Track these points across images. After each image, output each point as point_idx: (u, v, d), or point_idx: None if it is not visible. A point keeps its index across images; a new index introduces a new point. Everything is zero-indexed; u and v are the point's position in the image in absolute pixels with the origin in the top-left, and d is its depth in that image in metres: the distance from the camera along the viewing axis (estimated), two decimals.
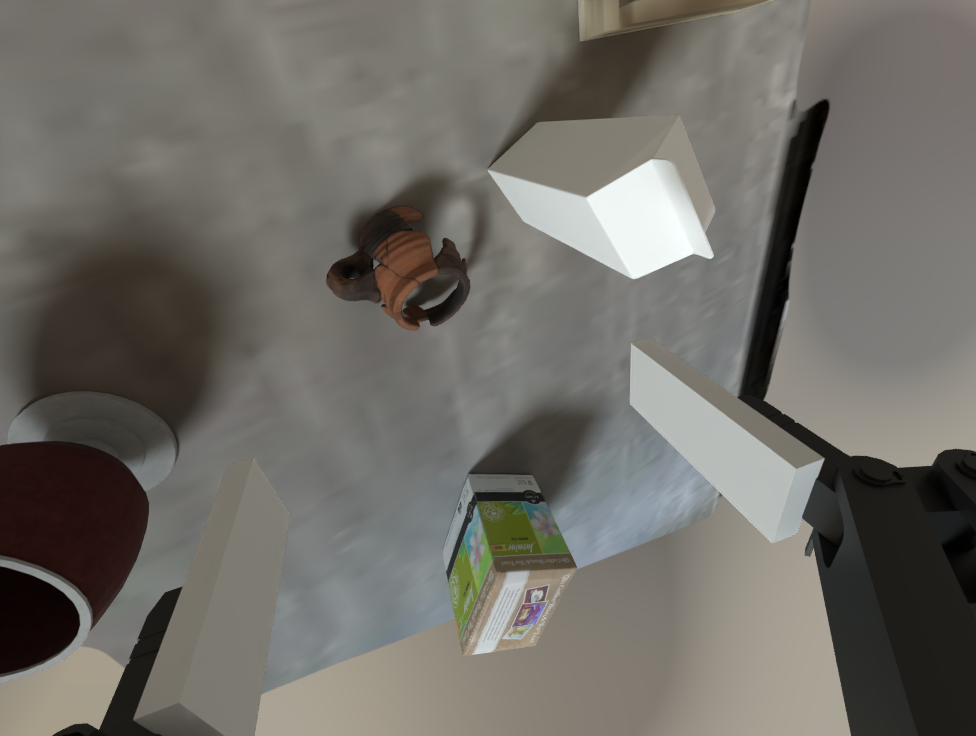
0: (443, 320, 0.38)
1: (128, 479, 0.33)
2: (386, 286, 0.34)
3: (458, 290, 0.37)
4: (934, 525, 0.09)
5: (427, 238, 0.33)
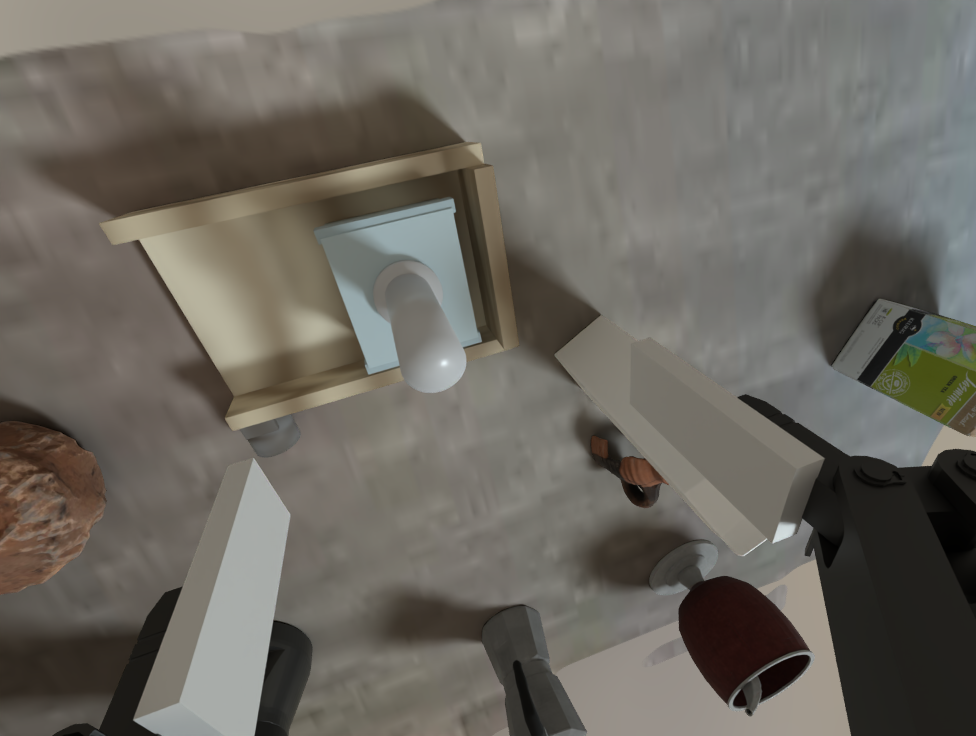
0: None
1: (721, 593, 0.57)
2: (656, 483, 0.45)
3: None
4: (934, 524, 0.09)
5: (630, 459, 0.43)
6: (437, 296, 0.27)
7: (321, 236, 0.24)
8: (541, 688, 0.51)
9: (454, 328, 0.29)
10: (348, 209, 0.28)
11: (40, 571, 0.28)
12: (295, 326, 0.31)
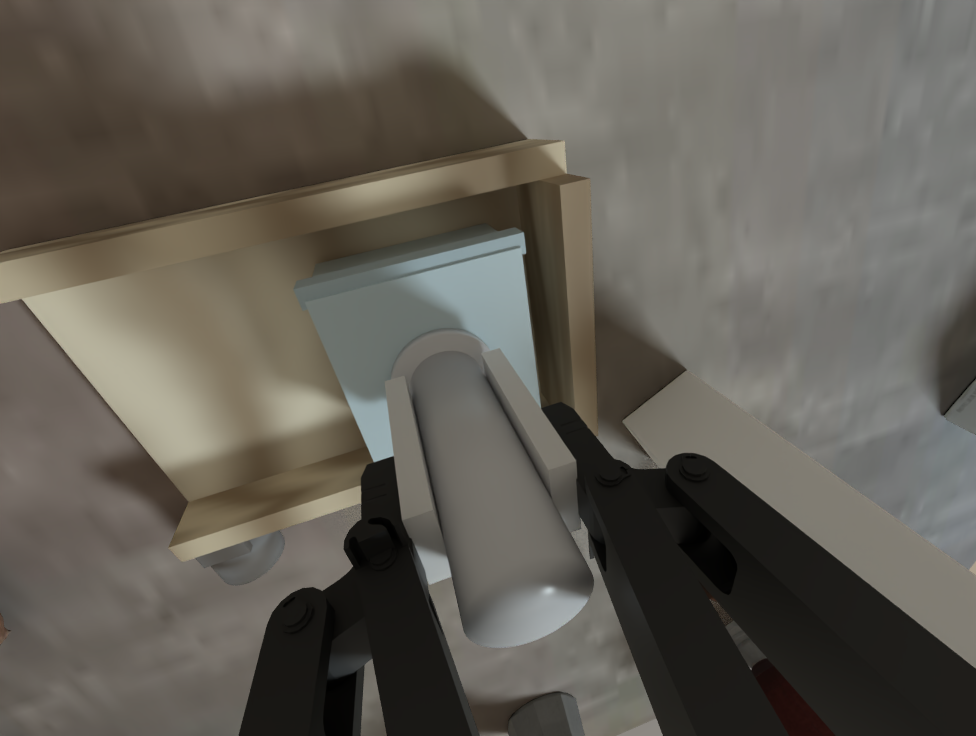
0: None
1: None
2: None
3: None
4: None
5: None
6: None
7: (306, 297, 0.14)
8: None
9: None
10: (351, 241, 0.19)
11: None
12: (274, 407, 0.21)
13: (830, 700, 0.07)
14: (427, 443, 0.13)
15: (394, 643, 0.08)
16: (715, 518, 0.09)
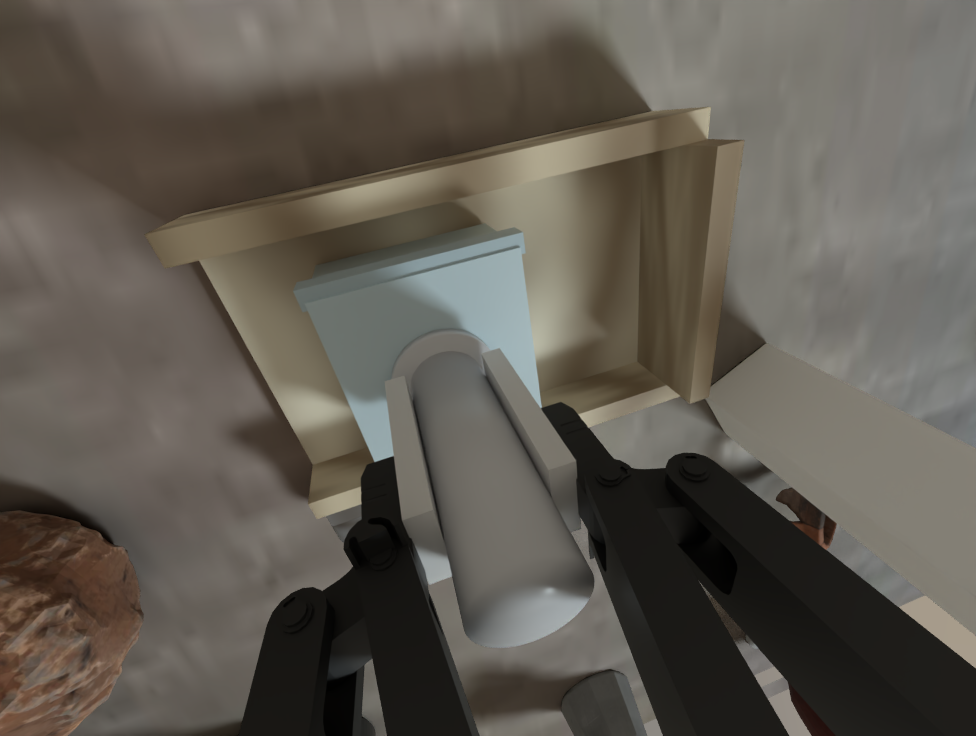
0: None
1: None
2: None
3: None
4: None
5: None
6: None
7: (306, 299, 0.14)
8: None
9: None
10: (490, 208, 0.20)
11: (55, 733, 0.19)
12: None
13: (830, 700, 0.07)
14: (427, 443, 0.13)
15: (394, 643, 0.08)
16: (715, 518, 0.09)
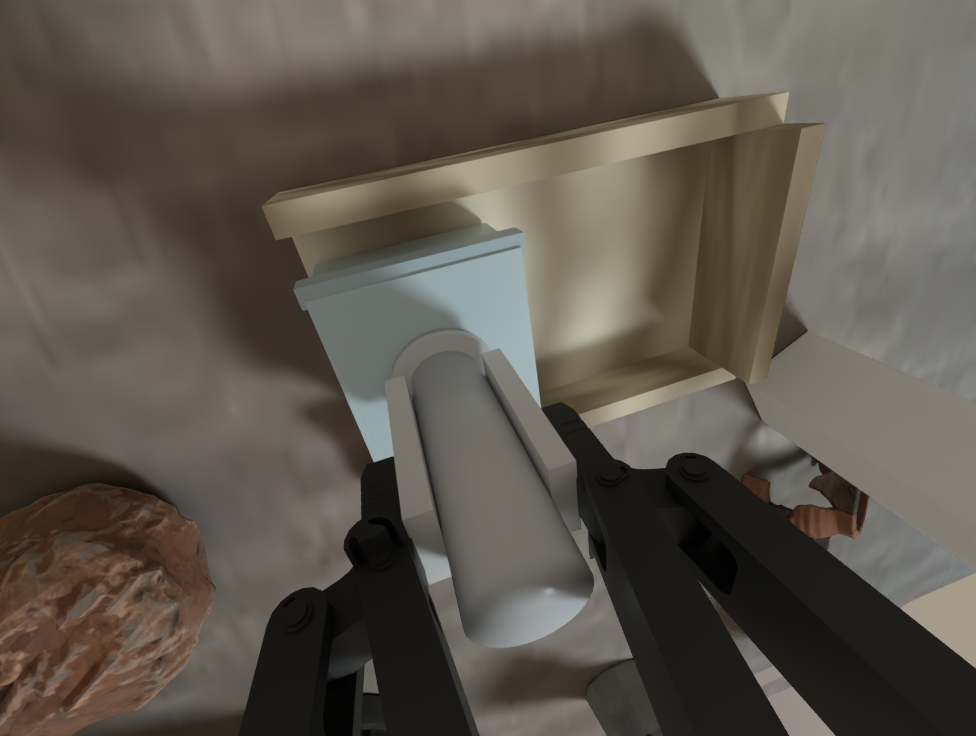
0: None
1: None
2: (833, 535, 0.36)
3: None
4: None
5: (810, 508, 0.34)
6: None
7: (306, 297, 0.14)
8: None
9: None
10: (565, 191, 0.20)
11: (139, 699, 0.20)
12: None
13: (830, 700, 0.07)
14: (427, 443, 0.13)
15: (394, 643, 0.08)
16: (715, 518, 0.09)
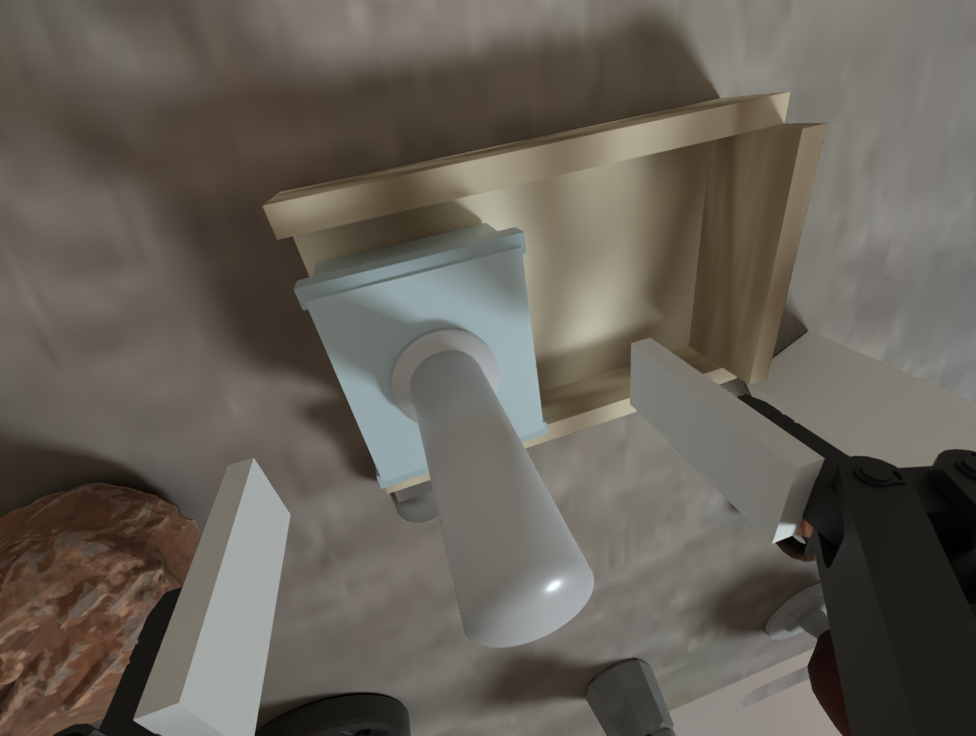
0: None
1: None
2: None
3: None
4: (934, 524, 0.09)
5: None
6: (491, 381, 0.17)
7: (307, 297, 0.14)
8: None
9: (510, 419, 0.19)
10: (566, 191, 0.20)
11: None
12: None
13: None
14: (427, 443, 0.13)
15: None
16: None
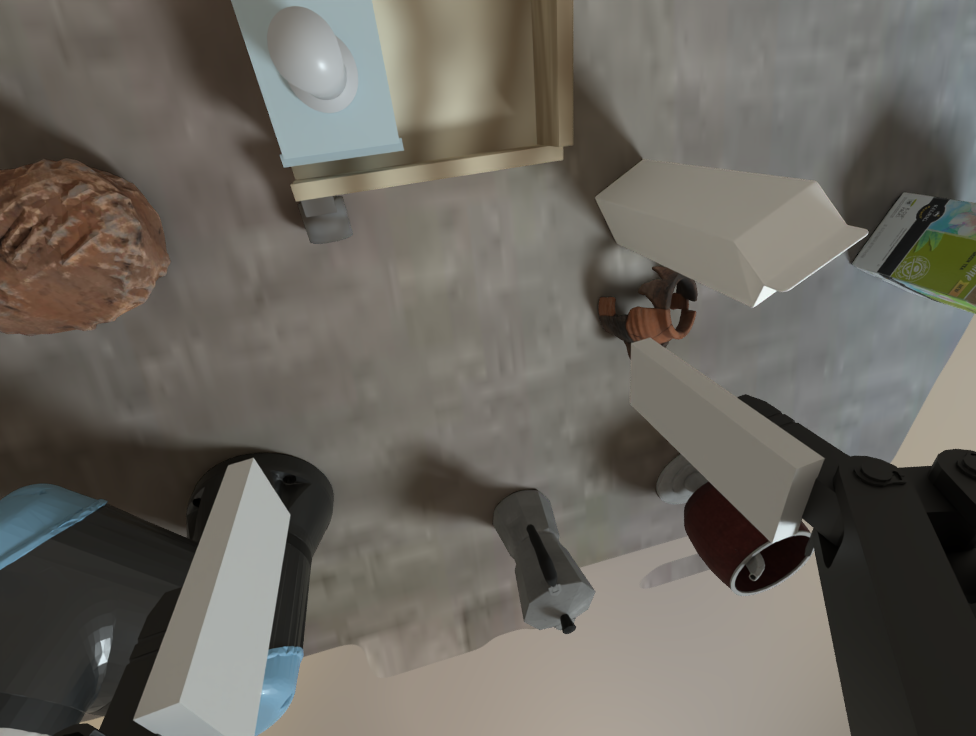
0: (696, 289, 0.46)
1: None
2: (662, 340, 0.46)
3: None
4: (934, 525, 0.09)
5: (638, 308, 0.44)
6: (352, 78, 0.27)
7: None
8: (552, 552, 0.53)
9: (373, 127, 0.29)
10: None
11: (111, 302, 0.29)
12: None
13: None
14: None
15: None
16: None
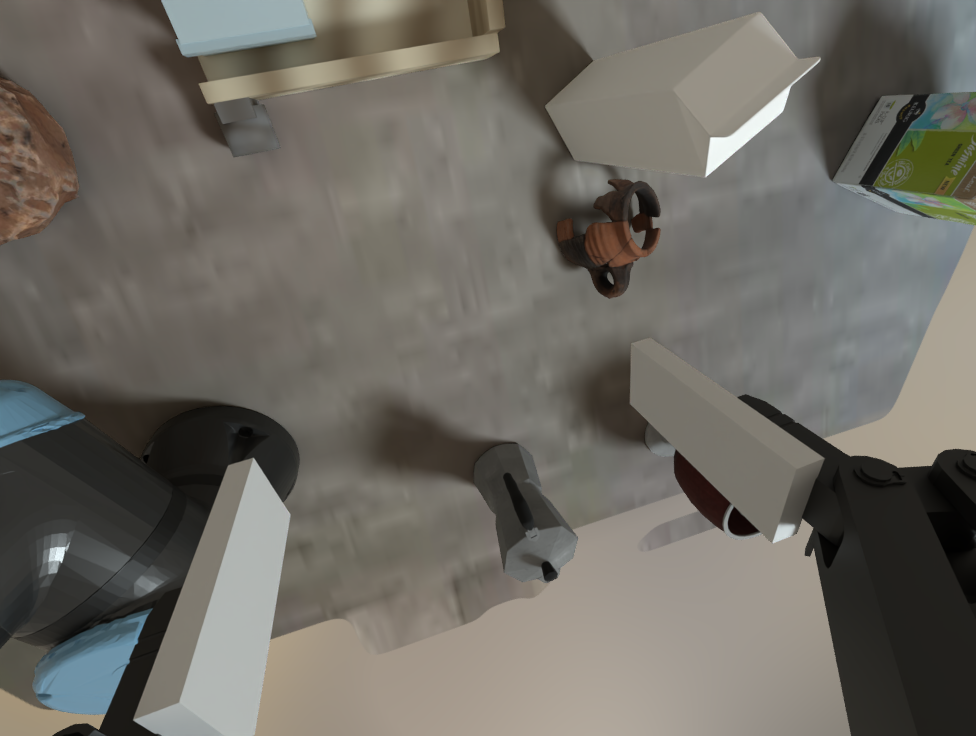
0: (658, 204, 0.43)
1: None
2: (625, 260, 0.43)
3: (636, 190, 0.41)
4: (934, 525, 0.09)
5: (594, 225, 0.41)
6: None
7: None
8: (532, 501, 0.50)
9: (277, 4, 0.26)
10: None
11: (6, 213, 0.27)
12: None
13: None
14: None
15: None
16: None
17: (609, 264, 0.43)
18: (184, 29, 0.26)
